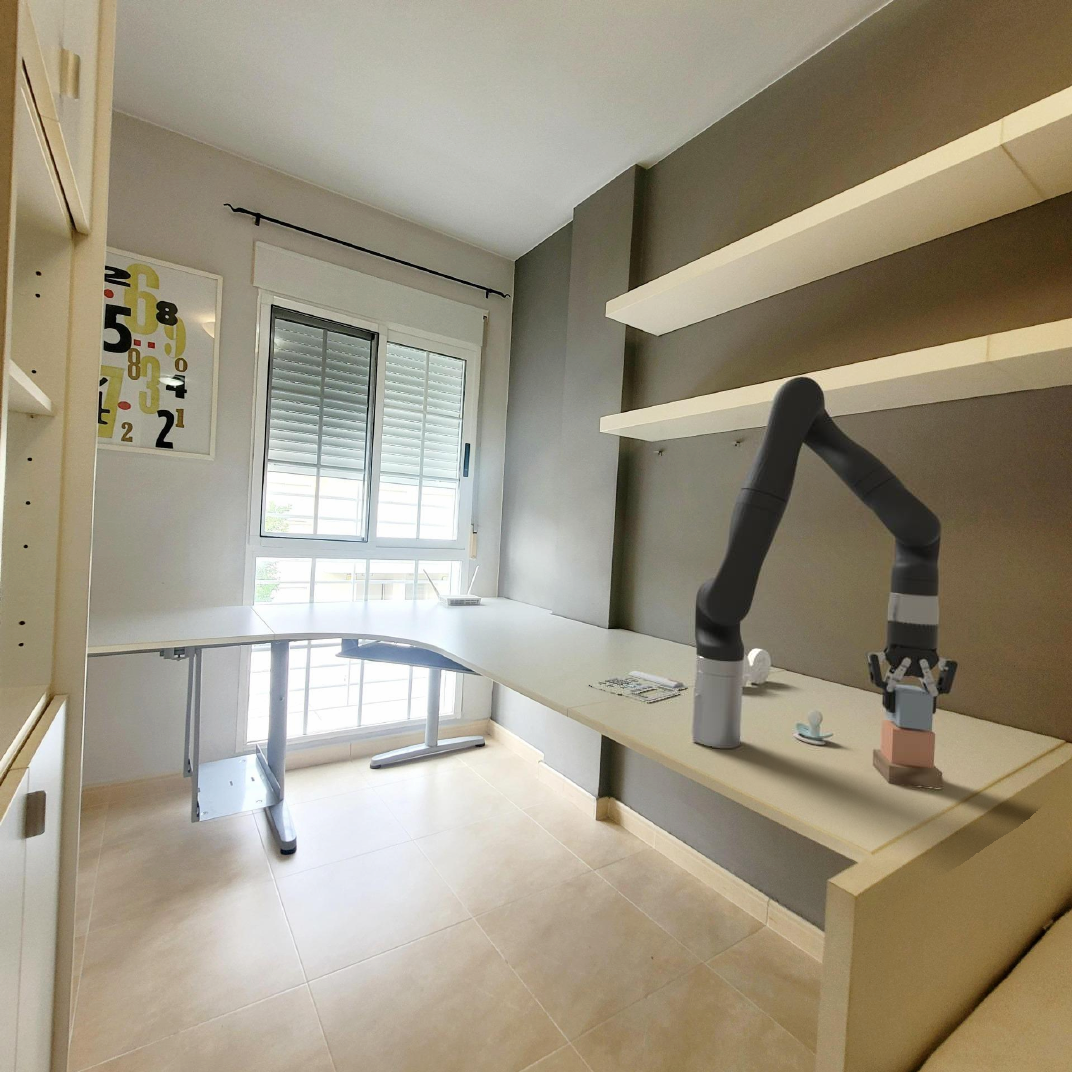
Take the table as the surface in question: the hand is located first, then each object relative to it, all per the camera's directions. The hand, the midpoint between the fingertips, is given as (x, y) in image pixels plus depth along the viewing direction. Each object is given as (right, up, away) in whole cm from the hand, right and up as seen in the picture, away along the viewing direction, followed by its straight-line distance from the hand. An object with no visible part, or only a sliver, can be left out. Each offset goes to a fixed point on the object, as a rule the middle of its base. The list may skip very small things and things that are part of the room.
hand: (908, 713), depth 98 cm
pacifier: (-9, -11, +17) cm, 22 cm away
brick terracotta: (0, -8, 0) cm, 8 cm away
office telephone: (-38, -11, +52) cm, 65 cm away
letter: (-6, -12, +59) cm, 61 cm away
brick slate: (0, -2, 0) cm, 2 cm away
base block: (0, -11, 0) cm, 11 cm away
